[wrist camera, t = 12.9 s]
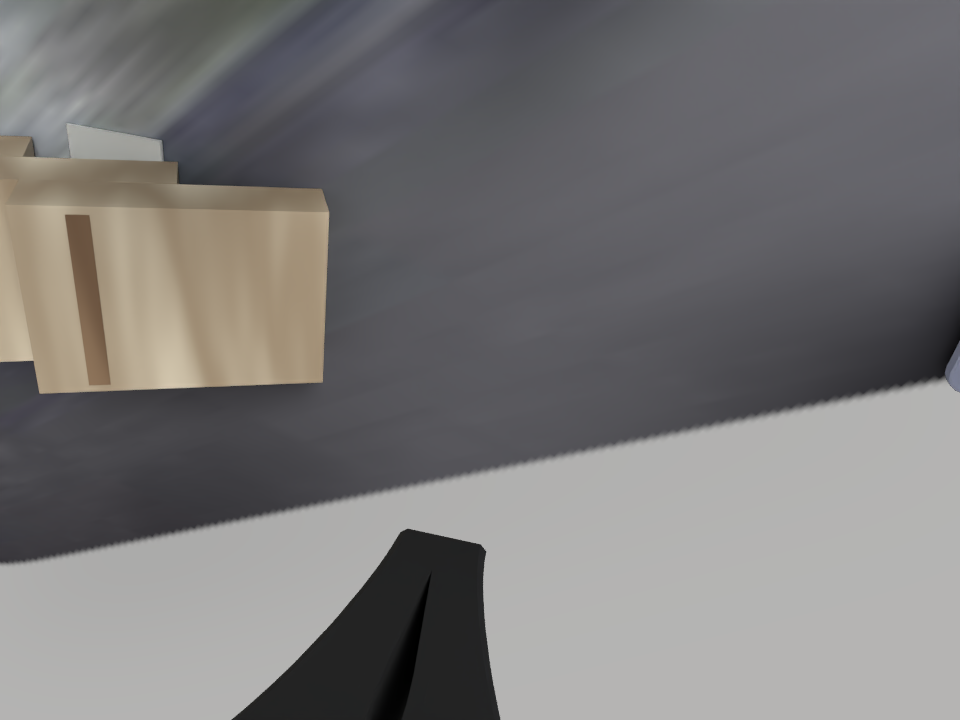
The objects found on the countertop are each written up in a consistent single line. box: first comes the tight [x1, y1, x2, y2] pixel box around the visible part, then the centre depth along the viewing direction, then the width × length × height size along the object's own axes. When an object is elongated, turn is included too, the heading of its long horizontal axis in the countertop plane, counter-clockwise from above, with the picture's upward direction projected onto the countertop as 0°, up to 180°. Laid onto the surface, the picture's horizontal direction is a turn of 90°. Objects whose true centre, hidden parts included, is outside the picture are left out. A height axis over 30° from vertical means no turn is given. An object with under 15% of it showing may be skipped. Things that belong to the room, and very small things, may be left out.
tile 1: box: [5, 179, 329, 394], centre depth 20 cm, size 2×5×7 cm
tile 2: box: [0, 156, 179, 362], centre depth 21 cm, size 2×5×7 cm
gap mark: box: [66, 123, 164, 161], centre depth 22 cm, size 3×6×1 cm, turn 172°
